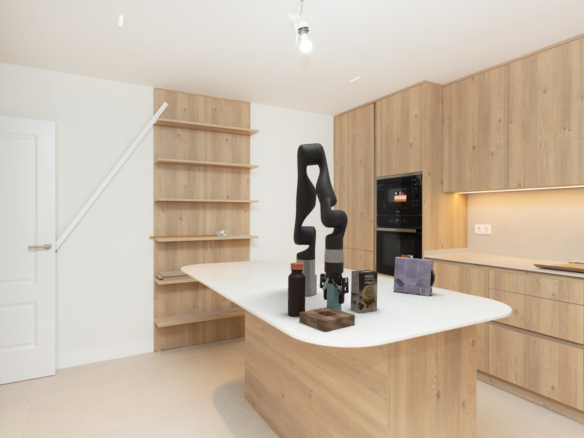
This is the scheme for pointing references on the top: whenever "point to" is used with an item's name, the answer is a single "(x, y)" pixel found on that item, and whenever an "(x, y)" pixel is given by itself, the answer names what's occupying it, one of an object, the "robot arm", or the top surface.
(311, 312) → the socket block
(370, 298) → the coffee box
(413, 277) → the cake pan box
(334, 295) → the peg
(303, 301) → the bottle
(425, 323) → the top surface
